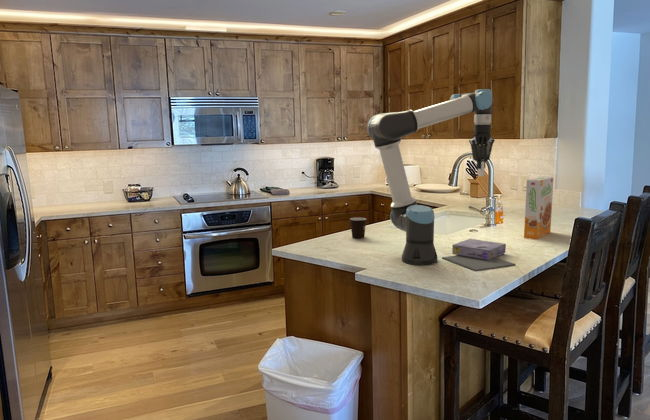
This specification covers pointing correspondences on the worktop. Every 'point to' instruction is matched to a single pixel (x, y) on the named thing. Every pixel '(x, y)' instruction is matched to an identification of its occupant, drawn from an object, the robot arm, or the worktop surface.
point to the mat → (478, 262)
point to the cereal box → (538, 207)
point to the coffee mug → (358, 227)
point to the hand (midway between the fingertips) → (480, 175)
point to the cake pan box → (478, 249)
